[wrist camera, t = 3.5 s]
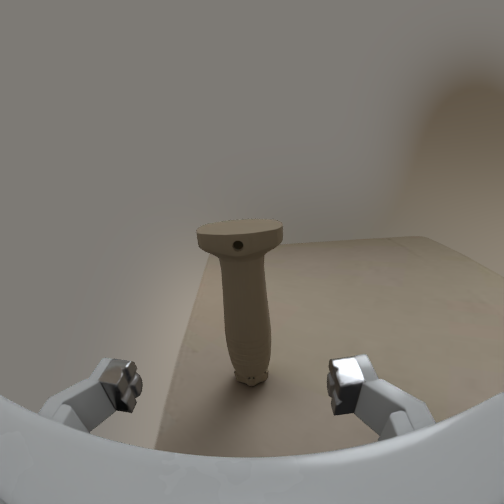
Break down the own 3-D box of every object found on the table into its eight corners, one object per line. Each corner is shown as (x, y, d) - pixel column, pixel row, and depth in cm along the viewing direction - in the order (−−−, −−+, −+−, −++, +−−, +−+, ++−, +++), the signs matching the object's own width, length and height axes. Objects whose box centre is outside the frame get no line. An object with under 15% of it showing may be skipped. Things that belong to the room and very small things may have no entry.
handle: (286, 391, 23) (285, 231, 18) (217, 393, 23) (189, 237, 18) (283, 359, 27) (279, 217, 23) (222, 361, 28) (203, 222, 23)
